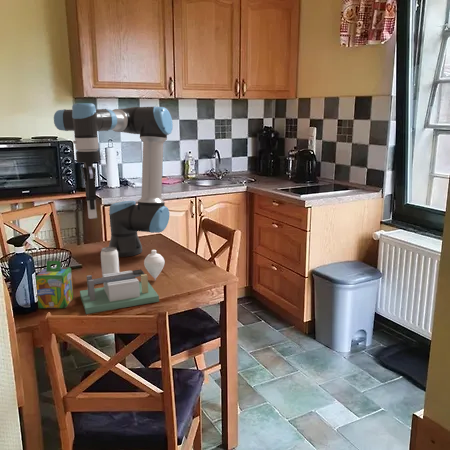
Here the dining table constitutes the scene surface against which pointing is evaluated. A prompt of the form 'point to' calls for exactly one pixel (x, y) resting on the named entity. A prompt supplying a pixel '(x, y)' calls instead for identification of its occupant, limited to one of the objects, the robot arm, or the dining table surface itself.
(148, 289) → the heatsink board
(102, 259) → the can
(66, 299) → the chalk box
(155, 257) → the spinning top
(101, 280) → the strap
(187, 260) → the dining table surface
